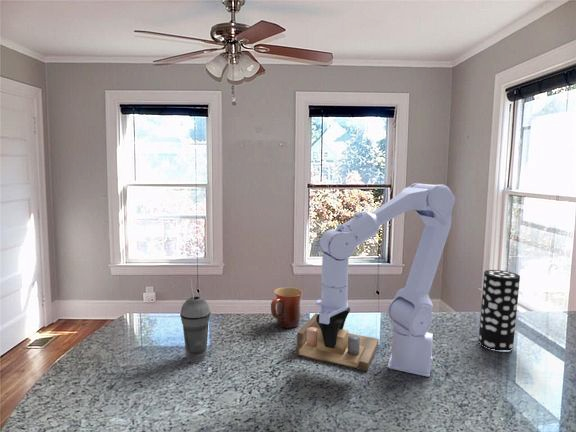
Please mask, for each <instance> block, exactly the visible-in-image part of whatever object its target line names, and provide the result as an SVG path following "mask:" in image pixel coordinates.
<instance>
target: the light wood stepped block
mask: <svg viewBox="0 0 576 432" xmlns="http://www.w3.org/2000/svg"><path fill="white" fill-rule="evenodd" d="M318 314H319V313H314V315H312V316H311V318H309V320H308V321H307V322H305V324H304V325H303V326H302V327H301V328H300V329H299V330H298V331H297V332H296V333H297V334H296V356H299V357H303V358H307V359H308V358H309V359H313V360H317V361H321V360H322V359H318V358H313V357H309V356H304V355H300V354H299V350H300V348H301V347H302V346H303V345H304V344H305V343H306V341H307V329H308V328H310V327H315V328H317V329H318V331H319V330H320V326H319V324H318V323H317V321H316V316H317V315H318ZM350 335H356V336H359V337H360V346H364V347H365V351H364V353H363V355H362V357H361V359H360V361H359V363H358V365H357V367H354V369H356V368H359V369H358V370H361V369H362V371H365V370H367V371H366V372H368V371H369V369H370V367H371V365H372V362H373V360H374V358H375V355H376V353H377V350H378V347H379V342H380V341H379V340H380V339H379V338H375V337H371V336H367V335H365V336H364V335H360V334H354V333H349V332H348V336H350ZM325 361H327V360H322V362H325ZM330 362H331V361H327V362H326V363H330ZM334 363H335V362H332V363H331V364H334ZM339 364H340V363H337V364H336V365H339ZM343 365H344V364H342V365H341V366H343ZM348 366H349V365H346V366H345V367H348ZM352 367H353V366H350V367H349V368H352Z"/></svg>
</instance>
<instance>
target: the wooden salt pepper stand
mask: <svg viewBox="0 0 576 432" xmlns="http://www.w3.org/2000/svg"><path fill="white" fill-rule="evenodd" d="M348 333H349V330H348V329H344V328H343V329H339V330H338V334H337V340H336V345H335V347H334V349H333V348H328V347H325V345H324V340H323V335H322V332H321V329H320V330H319V331H318V329H317V328H315V327H310V328H308V329H307V341H306V343H305V344H304V345H303V346H302V347H301V348H300V350H299V354H300V355H304V356H309V357H313V358H318V359H322V360H327V361H331V362H335V363H340V364H344V365H349V366H353V367H357V365H358V363H359V361H360V359H361V357H362V355H363V353H364V351H365V347H364V346H360V337H359V336H356V335H357V334H356V335H350V336H348Z"/></svg>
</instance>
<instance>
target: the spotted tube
mask: <svg viewBox="0 0 576 432" xmlns="http://www.w3.org/2000/svg"><path fill="white" fill-rule="evenodd" d="M520 279H521V276H520V275H519V274H518V273H514V272H513V271H512V272H511V271H508V270H500V269H499V270H498V269H488V270H484V273H483V284H482V292H481V294H482V295H481V305H480V318H479V319H480V320H479V328H478V329H479V330H478V331H479V332H478V340H477V341H479V343H480V344H481V345H483V346H485V347H487V348H490V349H495V350H511V349H512V348H513V349H514V343H515V342H514V341H515V335H516V334H515V333H516V322H517V310H518V299H519V290H520V281H521V280H520ZM479 343H478V344H479ZM480 344H479V345H480ZM481 345H480V346H481Z"/></svg>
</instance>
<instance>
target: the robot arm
mask: <svg viewBox="0 0 576 432" xmlns="http://www.w3.org/2000/svg"><path fill="white" fill-rule="evenodd" d="M455 204H456V197H455V195H454V194H453V192H452V190H451V188H450V187H448V186H447V185H445V184H430V183H429V184H428V183H427V184H426V183H420V182H415V183H412V184H411V185H409V186H407V187H404V188H403V189H402V191H401V192H400V193H398V194H397V195H396V196H394V197H393V198H391V199H390V200H388V201H386V202H385V203H384V204H382V205H381V206H380V207H378V208H377V209H375V210H374V211H373V212H368V211H357V212H356V213H354V214H353V215H354V217H353V218H351V219H349V220H347V221H346V222H343V224H342V223H339V224H337V225H336V229H334V228H333V229H332V228H331V229H327V230H325V231H324V232H323V233H322V235H321V236H320V239H319V241H318V242H317V244H318V248H319V250H320V251H321V254H322V261H321V262H322V264H321V296H320V297H321V299H318V300H317V301H315V304H316V306H319V307H320V313H317V314H318V315H317V316H316V321H317V323H318V324H319V326H320V329H321V332H322V335H323V340H324V345H325V347H328V348H333V349H334V347H335V345H336V340H337V334H338V330H339V329H343V330H344V326H345V323H346V320H347V317H348V315H349V313H350V311H351V307H349V303H348V290H349V289H348V287H349V283H348V282H349V258H350V257H351V256H352V255H353V254H354V251H355V249H356V248H357V247H358V246H360V245H361V244H363V243H365V241H368V240H369V239H371V238H372V237H374V236H376V235H377V234H379V230H380V228H381V226H382V225H385V224H386V223H388V222H390V221H391V220H393V219H394V218H397V217H398V216H401V215H402V214H404V213H406V212H408V211H414V212H415V213H416V215H418V216H419V217H420V219H421V221H422V222H423V224H424V228H423V231H422V233H421V237H420V241H419V243H418V246H417V249H416V252H415V255H414V258H413V262H412V265H411V267H410V271H409V273H408V277H407V280H406V284H405V286H404V287H403V288H400V289H398V290H397V291H396V292H395V293H396V294H395V296H394V298H393V299H392V300H391V302H390V303H389V305H388V308H387V313H388V317H389V318H390V319H391V322H392V323H391V324H392V343H391V355H390V357H389V359H388V364H387V368H388V369H390V370H396V371H398V372H399V371H400V372H405V373H408V374H409V373H410V374H414V375H418V376H423V377H430V375H431V369H432V365H433V362H434V360H433V359H434V357H433V356H432V354H433V343H434V342H433V341H434V339H433V338H434V334H433V332H429V330H430V329H431V327H432V324H433V311H434V305H433V302H432V300H431V298H430V295H429V294H430V291H431V288H432V284H433V281H434V279H435V276H436V273H437V270H438V267H439V263H440V260H441V257H442V255H443V251H444V248H445V245H446V243H447V239H448V236H449V233H450V230H451V228H452V227H451V226H452V217H453V216H452V212H453V208H454V205H455Z"/></svg>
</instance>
